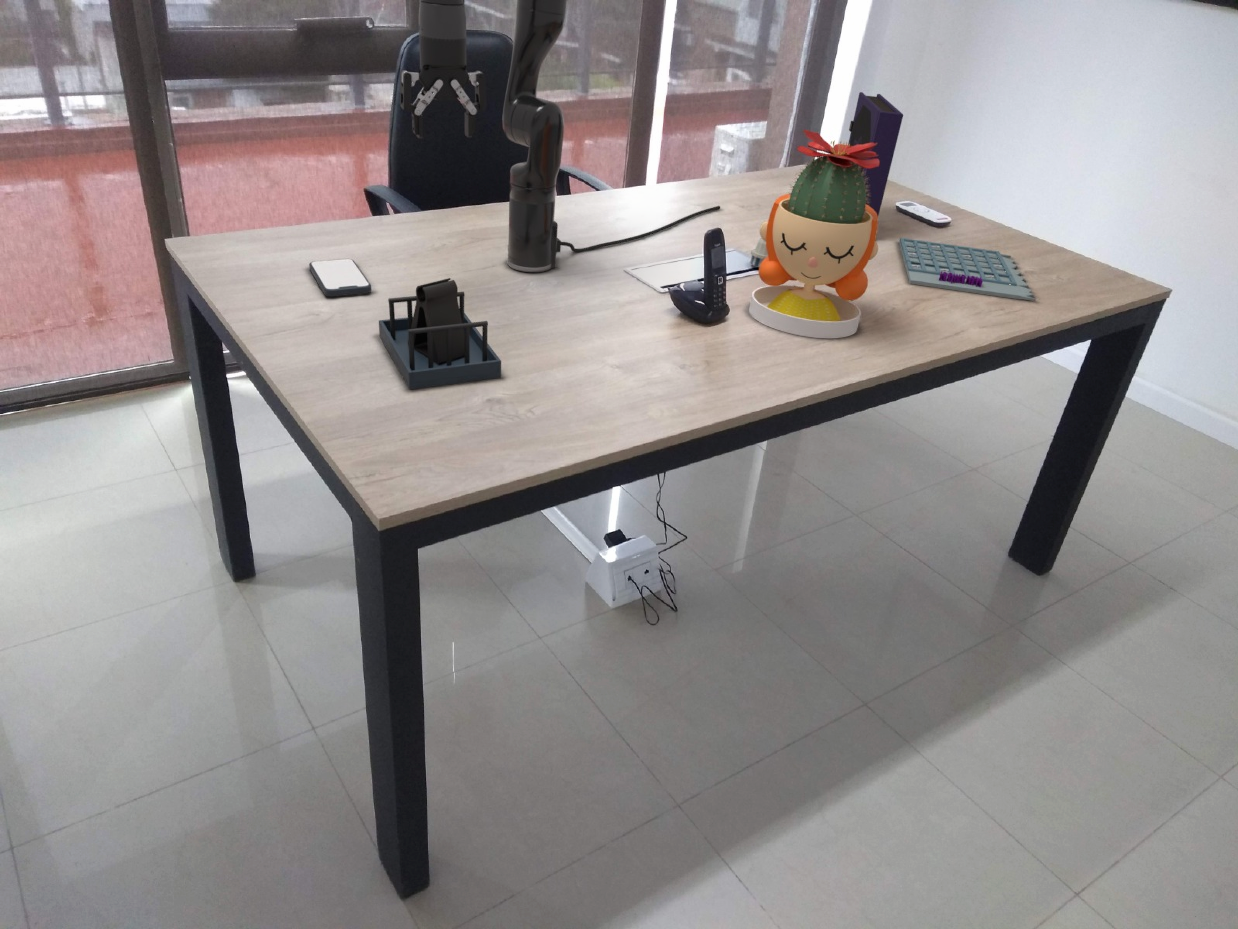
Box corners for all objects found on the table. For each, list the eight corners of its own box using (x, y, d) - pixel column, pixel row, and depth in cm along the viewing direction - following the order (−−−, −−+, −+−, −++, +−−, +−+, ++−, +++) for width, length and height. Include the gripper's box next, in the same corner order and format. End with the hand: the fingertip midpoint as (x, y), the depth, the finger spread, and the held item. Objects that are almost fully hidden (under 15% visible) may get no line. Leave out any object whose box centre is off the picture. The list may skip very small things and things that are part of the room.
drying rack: (463, 327, 163) (463, 282, 158) (500, 377, 148) (501, 330, 143) (379, 336, 157) (376, 290, 152) (409, 389, 142) (407, 340, 137)
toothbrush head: (841, 239, 211) (768, 238, 196) (832, 267, 214) (759, 268, 199) (824, 232, 214) (751, 231, 199) (816, 259, 217) (743, 260, 202)
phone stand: (407, 345, 152) (404, 277, 146) (437, 336, 156) (436, 270, 150) (438, 365, 147) (437, 296, 141) (469, 356, 151) (468, 288, 145)
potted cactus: (854, 346, 170) (902, 155, 152) (738, 322, 175) (770, 134, 156) (863, 305, 188) (906, 130, 169) (757, 285, 193) (788, 112, 174)
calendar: (1011, 258, 223) (1014, 249, 221) (1036, 301, 199) (1039, 291, 198) (898, 243, 226) (901, 233, 224) (909, 283, 202) (912, 273, 200)
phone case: (308, 269, 179) (325, 298, 167) (307, 261, 178) (324, 290, 167) (353, 265, 183) (373, 294, 171) (352, 257, 182) (373, 286, 170)
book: (874, 240, 225) (905, 114, 209) (849, 238, 225) (878, 111, 209) (854, 211, 245) (881, 93, 229) (831, 209, 245) (857, 91, 228)
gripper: (404, 36, 141) (408, 143, 150) (492, 37, 147) (491, 141, 156) (392, 28, 147) (397, 132, 155) (477, 30, 152) (477, 130, 161)
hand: (444, 136), depth 156 cm, fingers open, 8 cm apart
